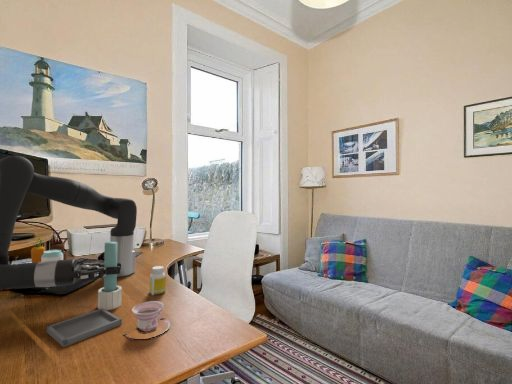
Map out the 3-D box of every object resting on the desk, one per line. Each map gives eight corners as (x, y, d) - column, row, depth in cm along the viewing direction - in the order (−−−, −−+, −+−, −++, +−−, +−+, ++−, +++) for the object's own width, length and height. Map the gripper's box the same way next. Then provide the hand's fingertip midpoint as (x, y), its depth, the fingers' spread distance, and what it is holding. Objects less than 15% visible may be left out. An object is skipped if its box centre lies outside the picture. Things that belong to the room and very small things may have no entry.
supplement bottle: (168, 292, 102) (168, 266, 102) (158, 298, 97) (159, 270, 96) (156, 290, 104) (156, 264, 103) (146, 296, 98) (146, 268, 98)
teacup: (141, 346, 68) (142, 321, 68) (114, 331, 74) (114, 309, 74) (179, 326, 78) (179, 304, 78) (152, 315, 85) (152, 295, 84)
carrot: (37, 274, 118) (37, 239, 117) (27, 273, 119) (28, 239, 118) (48, 271, 122) (48, 237, 122) (38, 270, 123) (39, 237, 123)
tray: (102, 315, 83) (102, 308, 83) (121, 327, 77) (121, 319, 77) (46, 335, 72) (46, 326, 72) (63, 350, 65) (63, 341, 65)
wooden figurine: (47, 270, 124) (47, 237, 124) (49, 266, 129) (50, 234, 129) (65, 268, 127) (66, 236, 127) (67, 265, 132) (67, 234, 132)
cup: (114, 301, 93) (115, 284, 93) (125, 307, 89) (125, 288, 89) (94, 308, 88) (94, 289, 87) (104, 314, 84) (104, 294, 84)
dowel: (112, 302, 91) (113, 241, 90) (118, 304, 89) (119, 242, 88) (101, 305, 88) (102, 242, 87) (106, 308, 86) (108, 244, 85)
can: (67, 278, 114) (67, 249, 114) (52, 284, 107) (53, 253, 107) (51, 277, 115) (51, 248, 115) (36, 283, 108) (36, 252, 108)
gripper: (49, 267, 76) (119, 262, 83) (63, 254, 89) (122, 251, 96) (49, 294, 76) (118, 287, 83) (62, 278, 89) (121, 273, 96)
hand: (120, 268), depth 89 cm, fingers closed on dowel, 3 cm apart
